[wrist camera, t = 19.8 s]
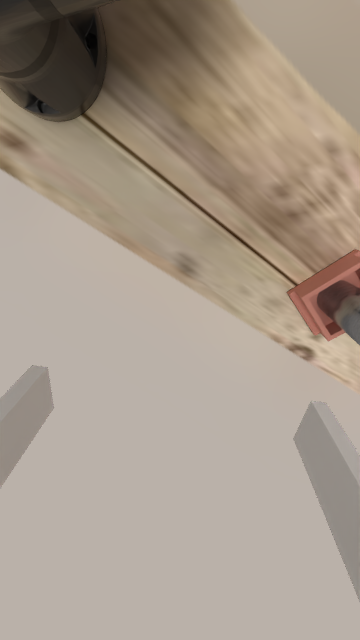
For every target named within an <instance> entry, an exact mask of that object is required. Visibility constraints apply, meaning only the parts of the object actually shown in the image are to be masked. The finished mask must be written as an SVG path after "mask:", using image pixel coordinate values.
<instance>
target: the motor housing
mask: <svg viewBox="0 0 360 640" xmlns="http://www.w3.org/2000/svg"><path fill="white" fill-rule="evenodd" d="M317 305H318V307H319V308H320V309H321V310H322V311H323V312H324V313H325V314H326V315H327V316H328V317H329V318H330V319H331V320H333V321H334V322H335V323H336V324H337V325H338V326H339V327H340V328H341V329H342V330H344V331H345V332H346V333H347V334H348V335H349V336H350V337H351V338H352V339H353V340H355V341H356V342H357V343H358V344H359V345H360V288H358V287H356V286H354V285H353V284H351V283H349V282H347V281H344V280H339V281H337V282H336V283H334V284H332V285H331V286H329V287H327V288H326V289H324V290H322V291H320V292H319V294H318V296H317Z"/></svg>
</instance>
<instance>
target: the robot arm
mask: <svg viewBox="0 0 360 640" xmlns="http://www.w3.org/2000/svg"><path fill="white" fill-rule="evenodd" d="M115 1H119V0H0V88H1V89H2V90H3V92H4V93H5V94H6V95H7V96H8V97H9V98H11V99H12V100H13V101H14V102H15V103H16V104H18V105H19V106H20V107H22V108H23V109H25V110H27V111H29V112H31V113H33V114H35V115H37V116H39V117H41V118H44V119H47V120H51V121H66V120H70V119H73V118H76V117H78V116H79V115H81V114H82V113H84V112H85V111H86V110H87V109H88V108H89V107H90V106H91V105H92V103H93V102H94V100H95V99H96V97H97V95H98V93H99V91H100V89H101V86H102V83H103V80H104V75H105V69H106V40H105V34H104V29H103V24H102V21H101V17H100V14H99V12H98V9H97V7H100V6H103V5H106V4H109V3H112V2H115ZM53 408H54V406H53V399H52V393H51V387H50V380H49V373H48V367H42V366H34V365H32V366H31V367H30V368H29V369H28V370H27V371H26V372H25V373H24V374H23V375H22V376H21V377H20V378H19V380H17V382H16V383H15V384H14V385H13V386H12V387H11V388H10V389H9V390H8V391H7V392H6V393H5V394H4V395H3V396H2V397H1V398H0V488H1V486H2V485H3V483H4V482H5V480H6V479H7V477H8V476H9V474H10V473H11V471H12V470H13V468H14V467H15V465H16V464H17V462H18V461H19V459H20V458H21V456H22V455H23V453H24V452H25V450H26V449H27V447H28V446H29V444H30V443H31V441H32V440H33V438H34V437H35V435H36V434H37V432H38V431H39V429H40V428H41V426H42V425H43V423H44V422H45V420H46V419H47V417H48V416H49V414H50V413H51V411H52V410H53ZM293 439H294V441H295V444H296V446H297V449H298V451H299V453H300V456H301V458H302V461H303V463H304V466H305V468H306V471H307V473H308V475H309V478H310V481H311V483H312V485H313V488H314V490H315V493H316V495H317V498H318V500H319V503H320V505H321V507H322V510H323V512H324V515H325V517H326V520H327V522H328V525H329V527H330V530H331V532H332V535H333V537H334V540H335V542H336V545H337V547H338V549H339V552H340V554H341V557H342V559H343V562H344V564H345V567H346V569H347V571H348V574H349V576H350V579H351V581H352V584H353V586H354V589H355V591H356V594H357V596H358V599H359V601H360V455H359V453H358V452H357V450H356V448H355V447H354V445H353V444H352V442H351V441H350V439H349V438H348V436H347V434H346V433H345V431H344V430H343V428H342V426H341V425H340V423H339V422H338V420H337V419H336V417H335V415H334V414H333V412H332V411H331V409H330V408H329V406H328V405H327V403H324V402H316V401H311V402H310V404H309V406H308V409H307V411H306V413H305V415H304V417H303V419H302V421H301V423H300V425H299V427H298V430H297V432H296V434H295V436H294V438H293Z"/></svg>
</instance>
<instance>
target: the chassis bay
mask: <svg viewBox="0 0 360 640" xmlns="http://www.w3.org/2000/svg"><path fill="white" fill-rule="evenodd" d="M339 280H344V281H347V282H349V283H351V284H353V285H354V286H356V287H358V288H360V251H359V250H356V249H355V250H354V251H352V252H351V253H349V254H347V255H346V256H344V257H343V258H341V259H339V260H338V261H336V262H335V263H333V264H331V265H330V266H328V267H327V268H325V269H323V270H322V271H320V272H319V273H317V274H315V275H314V276H312V277H311V278H309V279H307V280H306V281H304V282H303V283H301V284H299V285H298V286H296V287H295V288H293V289H291V290H290V291H288V292H287V293H288V295H289V297H290V298H291V300H292V301H293V303H294V304H295V306H296V307H297V309H298V311H299V312H300V314H301V315H302V317H303V318H304V320H305V321H306V323H307V325H308V326H309V328H310V329H311V331H312V332H313V334H314V335H317V334H319V333H321V334H322V335H323V336H324V337H325V338H326V339H327V340H328V341H330V340H332V339H334V338H336V337H337V336H339V335H341V334H343V333H345V331H344V330H342V329H341V328H340V327H339V326H338V325H337V324H336V323H335V322H334V321H333V320H331V319H330V318H329V317H328V316H327V315H326V314H325V313H324V312H323V311H322V310H321V309H320V308H319V307H318V305H317V296H318V294H319V292H320V291H322V290H324V289H326V288H327V287H329V286H331V285H332V284H334V283H336V282H337V281H339Z"/></svg>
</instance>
